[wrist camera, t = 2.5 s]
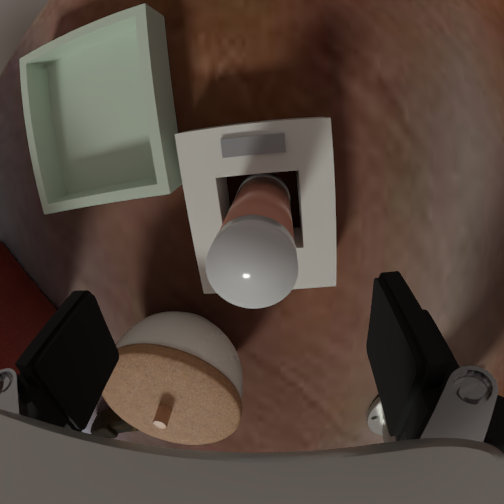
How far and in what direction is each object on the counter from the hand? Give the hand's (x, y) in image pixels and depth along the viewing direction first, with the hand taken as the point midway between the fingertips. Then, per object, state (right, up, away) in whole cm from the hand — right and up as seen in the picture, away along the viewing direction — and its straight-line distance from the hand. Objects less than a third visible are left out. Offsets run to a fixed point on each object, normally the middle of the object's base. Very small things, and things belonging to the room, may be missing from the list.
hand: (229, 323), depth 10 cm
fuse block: (+2, +6, +15) cm, 16 cm away
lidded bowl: (-6, -7, +22) cm, 24 cm away
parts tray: (-11, +14, +13) cm, 22 cm away
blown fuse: (+2, +6, +15) cm, 16 cm away
